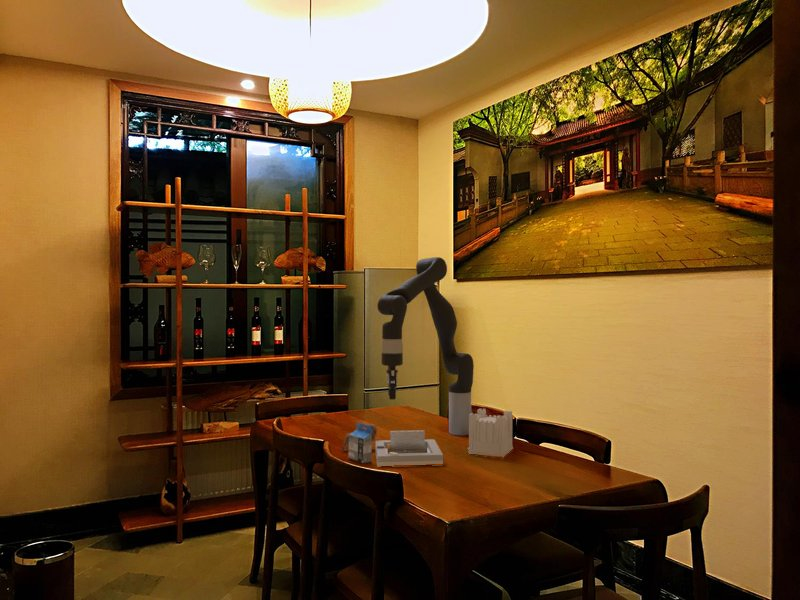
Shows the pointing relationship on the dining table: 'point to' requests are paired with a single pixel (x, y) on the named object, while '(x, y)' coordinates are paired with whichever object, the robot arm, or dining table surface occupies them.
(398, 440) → the dial
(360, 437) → the label tape box
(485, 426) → the castle model
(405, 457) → the housing
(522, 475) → the dining table surface
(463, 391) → the robot arm
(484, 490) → the dining table surface
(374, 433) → the lion figurine
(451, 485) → the dining table surface
